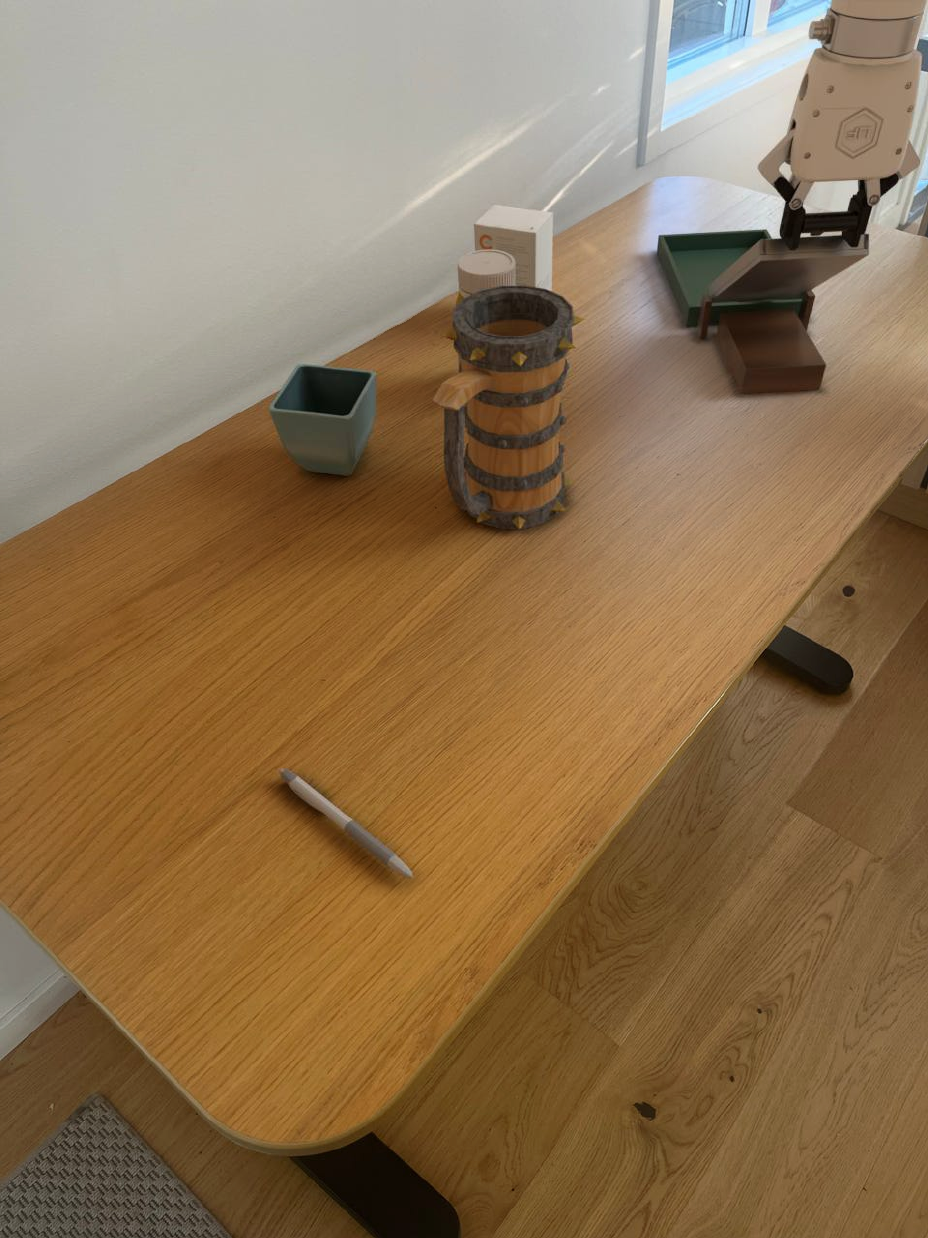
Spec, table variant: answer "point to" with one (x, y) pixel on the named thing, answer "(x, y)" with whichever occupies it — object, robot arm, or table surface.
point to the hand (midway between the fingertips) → (819, 241)
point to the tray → (710, 271)
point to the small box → (520, 241)
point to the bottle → (484, 272)
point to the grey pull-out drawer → (792, 262)
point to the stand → (768, 347)
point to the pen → (345, 823)
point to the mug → (507, 405)
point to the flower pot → (325, 416)
